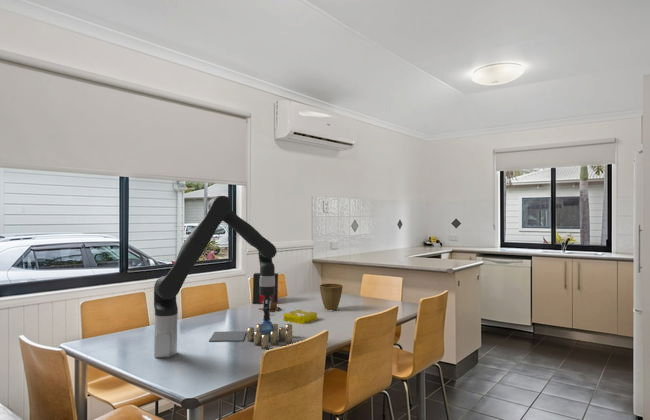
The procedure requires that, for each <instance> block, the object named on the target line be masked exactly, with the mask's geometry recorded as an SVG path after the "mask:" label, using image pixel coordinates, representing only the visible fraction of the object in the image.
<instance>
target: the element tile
mask: <svg viewBox="0 0 650 420" xmlns="http://www.w3.org/2000/svg"><path fill="white" fill-rule="evenodd" d="M316 319H317V320H318V312H314V311H309V310H303V309H296V310H292V311H288V312H284V313H283V321H284V322H288V321H289V323H293V322H294V323H293V324H298V323H299V324H298V325H304V323H305V324H308V323H307V322H309V323H311V322H310V321H312V322H314V321H313V320H315V321H317V320H316Z"/></svg>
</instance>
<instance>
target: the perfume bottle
mask: <svg viewBox="0 0 650 420" xmlns="http://www.w3.org/2000/svg"><path fill="white" fill-rule="evenodd" d="M270 321H271V314H270V315H269V321H264V317H263V318H262V323H261V324H262V325H261V327H260V329H259V331H261V344H262V335H263V334H268V335H269V342H270V333H271V331H274V326H273V324H274V323H273V322H272V321H271V322H270Z"/></svg>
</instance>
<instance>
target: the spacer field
mask: <svg viewBox="0 0 650 420" xmlns="http://www.w3.org/2000/svg"><path fill="white" fill-rule="evenodd" d="M270 322H272V321H271V320H270ZM272 324H273V326H274V331H271V333H270V343H269V335H268V334H263V335H262V343H261V331H259V329H260V327H261V325H262V323H257V324H256V327H252V326H251V327H247V328H246V329H247V331H246V335H247V337H246V340H247V342H250V343H251V342H253V345H254V346H255V347H256V346H261V350H263V349H266V350H269V347H270V346H277V345H278V341H279V342H285V345H286V346H288V345H287V344H291V343H292V344H293V324H292V323H285V326H281V327H279V324H278V323H272ZM269 344H270V346H269Z"/></svg>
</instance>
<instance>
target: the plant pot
mask: <svg viewBox="0 0 650 420" xmlns="http://www.w3.org/2000/svg"><path fill="white" fill-rule="evenodd" d="M319 289H320V296H321V301H322V304H323V307H324V310H325V309H327V310H335V309H337V310H338V307H339V305H340V301H341V299H342V293H343V284H341V283H322V284H319Z"/></svg>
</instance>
